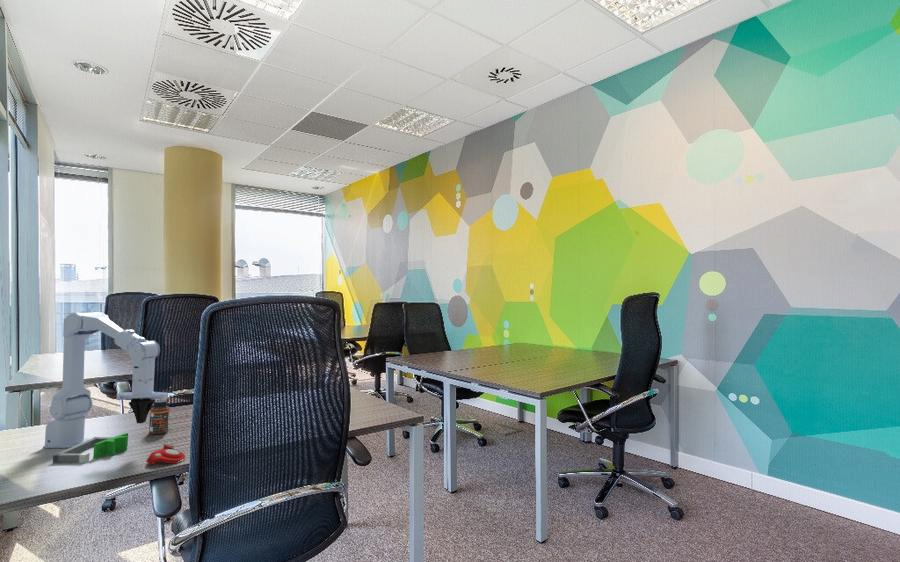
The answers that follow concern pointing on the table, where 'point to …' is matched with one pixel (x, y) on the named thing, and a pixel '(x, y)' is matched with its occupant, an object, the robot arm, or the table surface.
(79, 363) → the robot arm
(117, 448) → the green block
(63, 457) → the keeper bracket
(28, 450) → the table surface
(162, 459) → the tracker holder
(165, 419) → the supplement bottle
